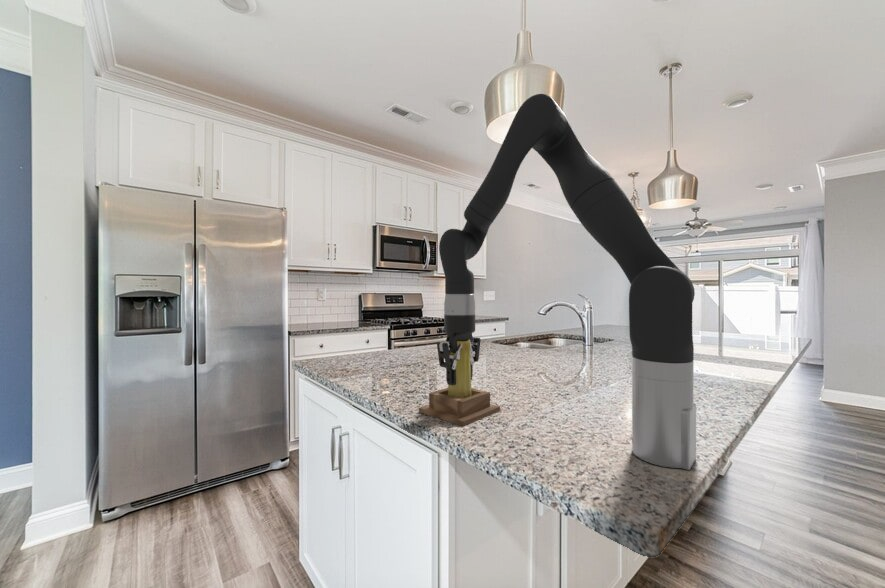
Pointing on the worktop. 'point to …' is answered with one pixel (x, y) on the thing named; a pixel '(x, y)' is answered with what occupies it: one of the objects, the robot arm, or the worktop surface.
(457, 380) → the vase
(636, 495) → the worktop surface
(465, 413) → the socket block
